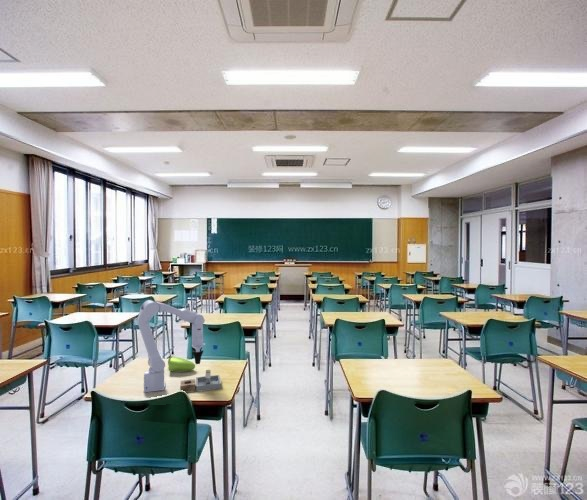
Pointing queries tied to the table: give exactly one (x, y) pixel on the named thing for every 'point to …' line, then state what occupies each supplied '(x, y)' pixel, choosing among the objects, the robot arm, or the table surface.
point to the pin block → (187, 385)
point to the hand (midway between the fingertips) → (197, 361)
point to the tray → (203, 386)
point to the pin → (208, 376)
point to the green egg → (180, 364)
